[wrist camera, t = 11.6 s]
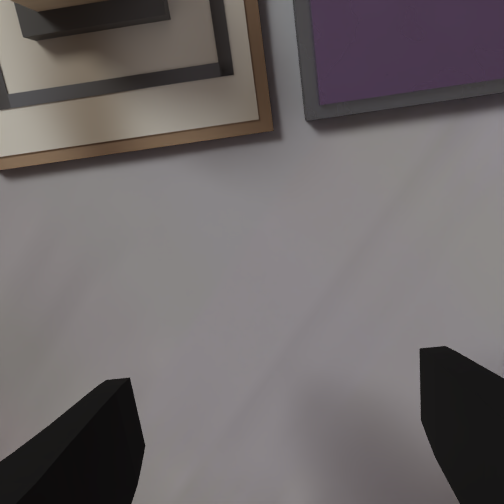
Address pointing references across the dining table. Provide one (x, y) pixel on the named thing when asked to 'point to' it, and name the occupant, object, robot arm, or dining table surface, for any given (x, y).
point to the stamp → (84, 16)
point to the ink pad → (396, 53)
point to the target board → (132, 84)
